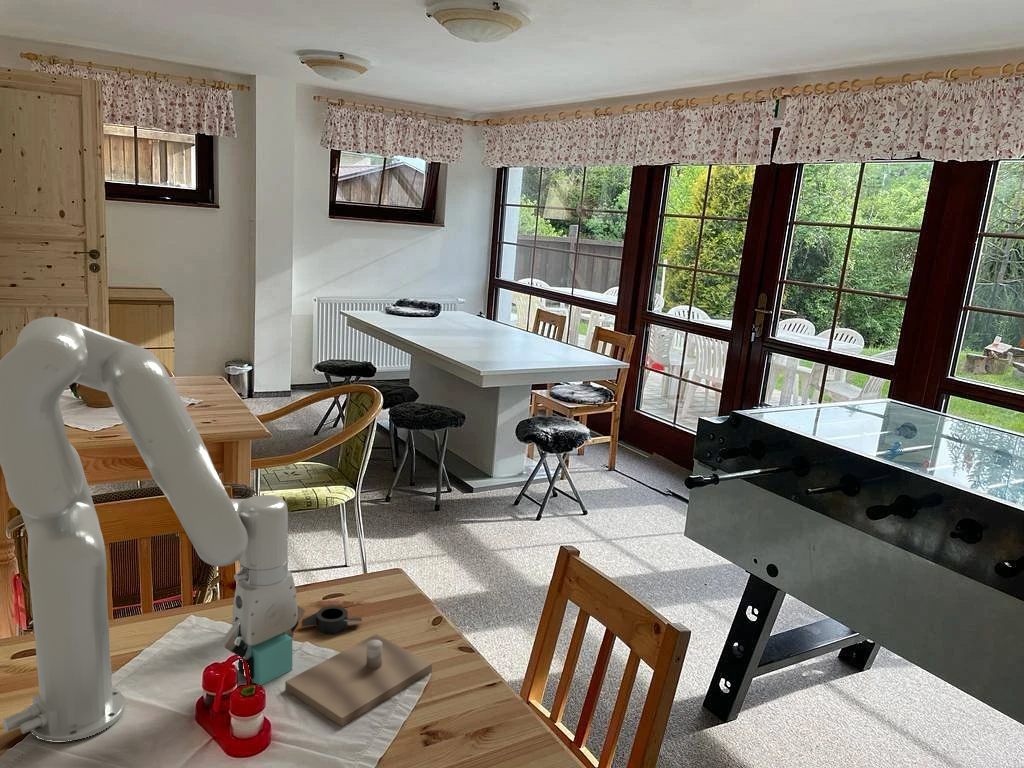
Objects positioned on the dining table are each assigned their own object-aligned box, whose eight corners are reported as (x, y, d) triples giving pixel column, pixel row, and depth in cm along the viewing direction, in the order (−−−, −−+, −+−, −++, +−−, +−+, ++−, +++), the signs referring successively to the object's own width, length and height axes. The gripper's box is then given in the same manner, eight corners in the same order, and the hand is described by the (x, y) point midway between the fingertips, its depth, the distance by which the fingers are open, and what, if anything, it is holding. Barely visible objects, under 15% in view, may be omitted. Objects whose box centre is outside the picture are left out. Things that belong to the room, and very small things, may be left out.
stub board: (341, 726, 119) (342, 695, 118) (285, 689, 127) (285, 659, 126) (431, 671, 135) (432, 642, 134) (376, 641, 143) (376, 614, 142)
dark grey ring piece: (321, 612, 152) (321, 598, 152) (365, 624, 149) (365, 611, 148) (297, 630, 145) (297, 616, 145) (342, 644, 142) (343, 629, 141)
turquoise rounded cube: (260, 685, 128) (259, 653, 127) (237, 670, 132) (236, 638, 130) (292, 669, 133) (292, 637, 132) (269, 655, 137) (269, 624, 135)
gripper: (230, 596, 119) (232, 699, 123) (320, 560, 133) (319, 655, 137) (203, 580, 124) (206, 680, 128) (293, 547, 137) (293, 639, 141)
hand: (265, 666), depth 132 cm, fingers closed on turquoise rounded cube, 6 cm apart
